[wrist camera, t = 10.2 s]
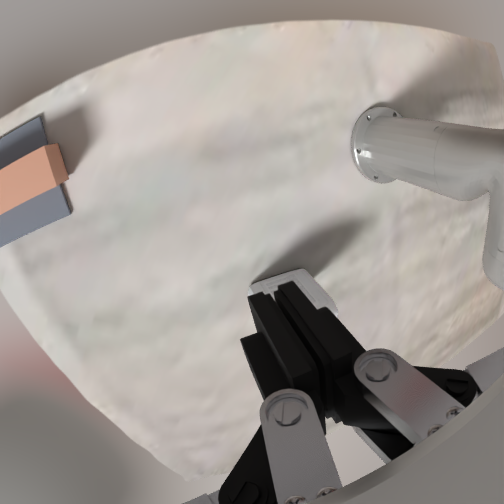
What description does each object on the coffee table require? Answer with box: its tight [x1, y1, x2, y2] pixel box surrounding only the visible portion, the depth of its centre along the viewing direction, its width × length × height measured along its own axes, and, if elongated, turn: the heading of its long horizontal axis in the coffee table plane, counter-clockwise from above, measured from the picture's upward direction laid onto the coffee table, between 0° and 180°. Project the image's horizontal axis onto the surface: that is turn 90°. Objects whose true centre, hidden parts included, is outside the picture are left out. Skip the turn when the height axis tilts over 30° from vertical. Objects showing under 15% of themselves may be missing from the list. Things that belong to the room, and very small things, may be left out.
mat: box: [0, 117, 71, 247], centre depth 30 cm, size 15×14×1 cm
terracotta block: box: [0, 143, 69, 215], centre depth 28 cm, size 5×5×14 cm
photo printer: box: [248, 269, 338, 318], centre depth 43 cm, size 10×4×12 cm, turn 100°
